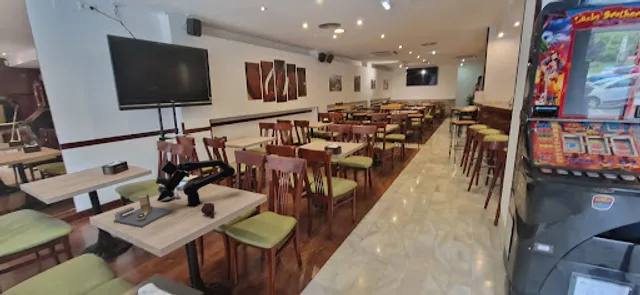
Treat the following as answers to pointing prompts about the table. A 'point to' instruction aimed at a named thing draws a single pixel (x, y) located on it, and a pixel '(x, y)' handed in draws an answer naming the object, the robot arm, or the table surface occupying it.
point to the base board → (151, 217)
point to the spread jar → (168, 196)
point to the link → (144, 206)
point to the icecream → (208, 209)
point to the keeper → (120, 214)
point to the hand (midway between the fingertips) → (157, 200)
